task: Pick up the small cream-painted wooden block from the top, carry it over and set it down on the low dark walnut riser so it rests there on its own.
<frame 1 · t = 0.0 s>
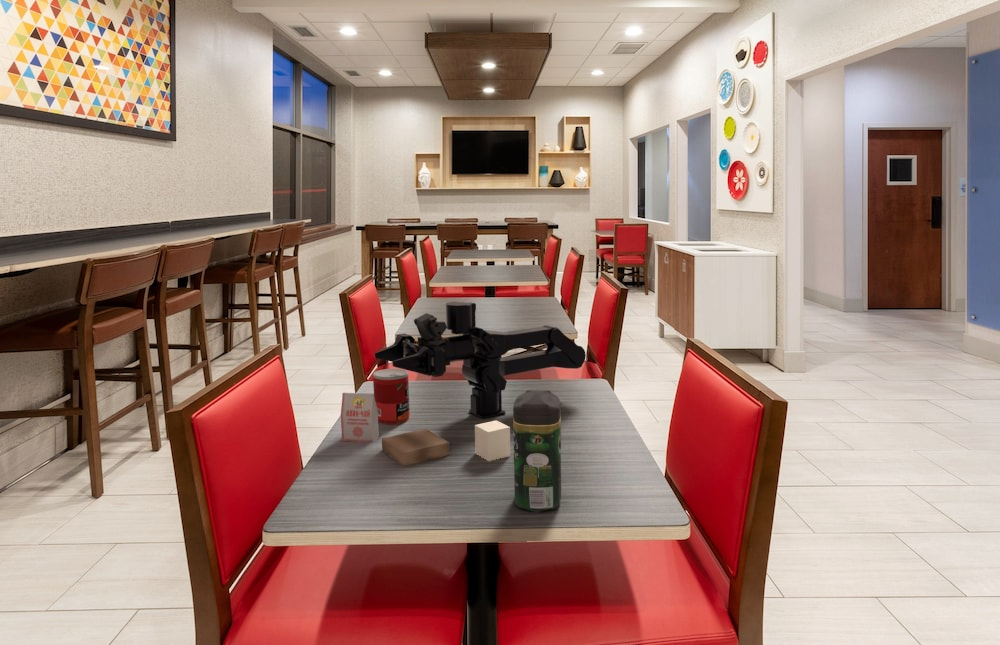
hand: (383, 359, 149), 17 cm above the table, tool horizontal, fingers open, 9 cm apart
coffee jar: (537, 501, 118), on the table
cream block: (492, 455, 139), on the table
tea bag: (360, 439, 150), on the table
canned food: (392, 419, 162), on the table
walnut riser: (415, 454, 141), on the table
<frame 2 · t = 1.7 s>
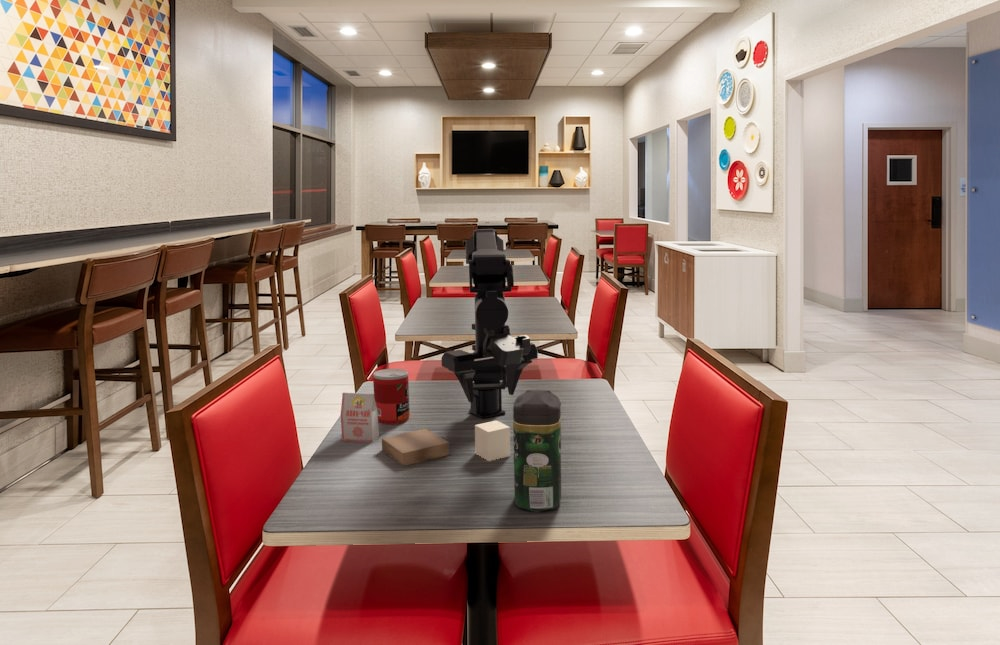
hand: (491, 398, 137), 12 cm above the table, tool pointing down, fingers open, 9 cm apart
nothing on the table moved.
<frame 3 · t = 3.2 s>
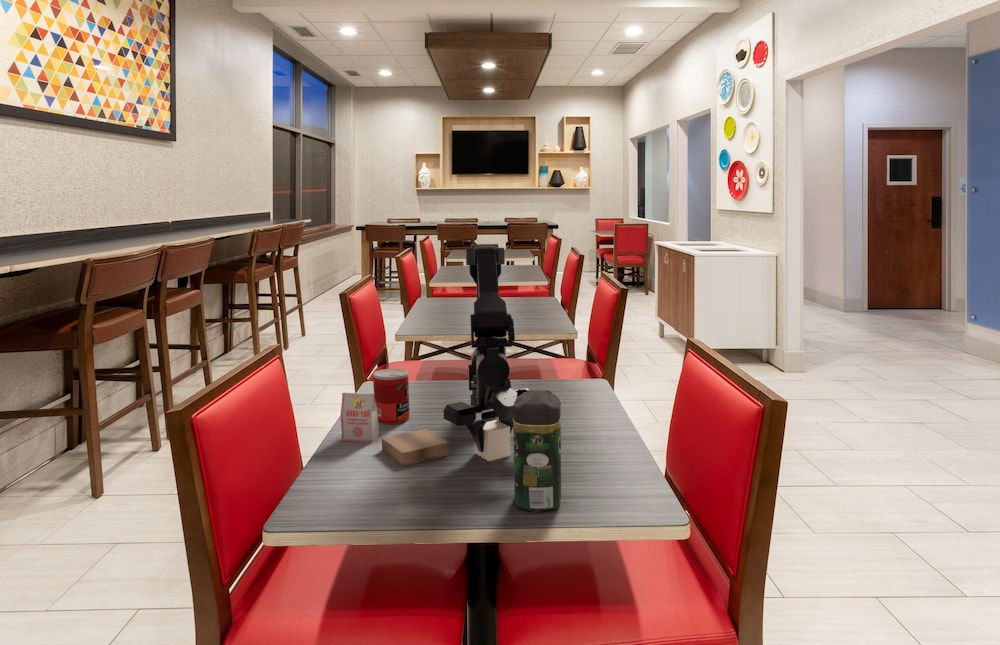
hand: (492, 448, 139), 1 cm above the table, tool pointing down, fingers closed on cream block, 5 cm apart
cream block: (492, 454, 139), on the table, touching gripper
everything else where it was.
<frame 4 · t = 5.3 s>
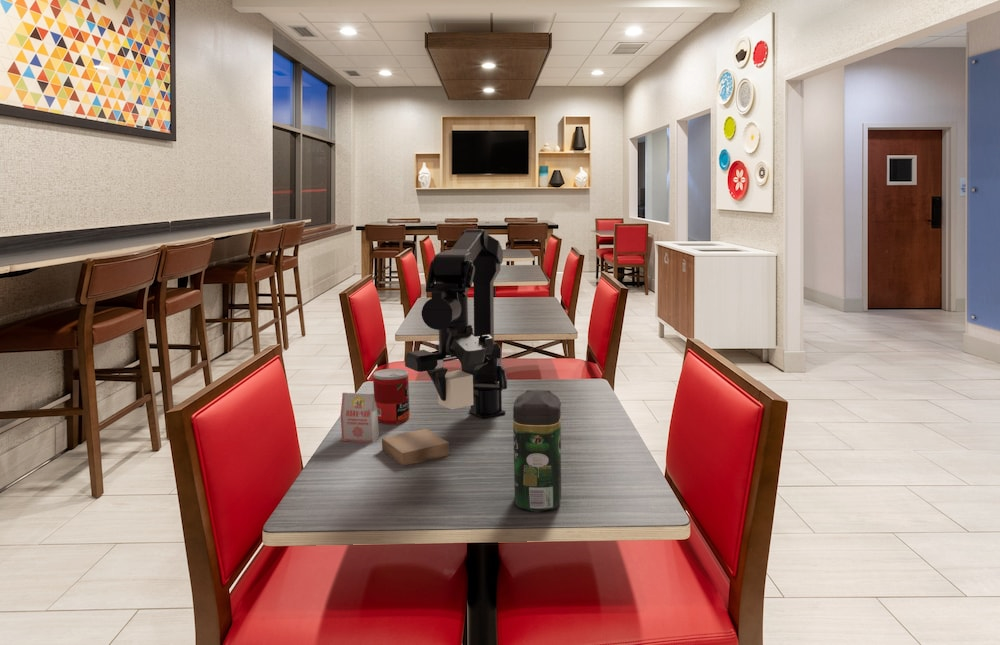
hand: (455, 398, 138), 11 cm above the table, tool pointing down, fingers closed on cream block, 5 cm apart
cream block: (455, 404, 138), point 10 cm above the table, touching gripper
everything else where it was.
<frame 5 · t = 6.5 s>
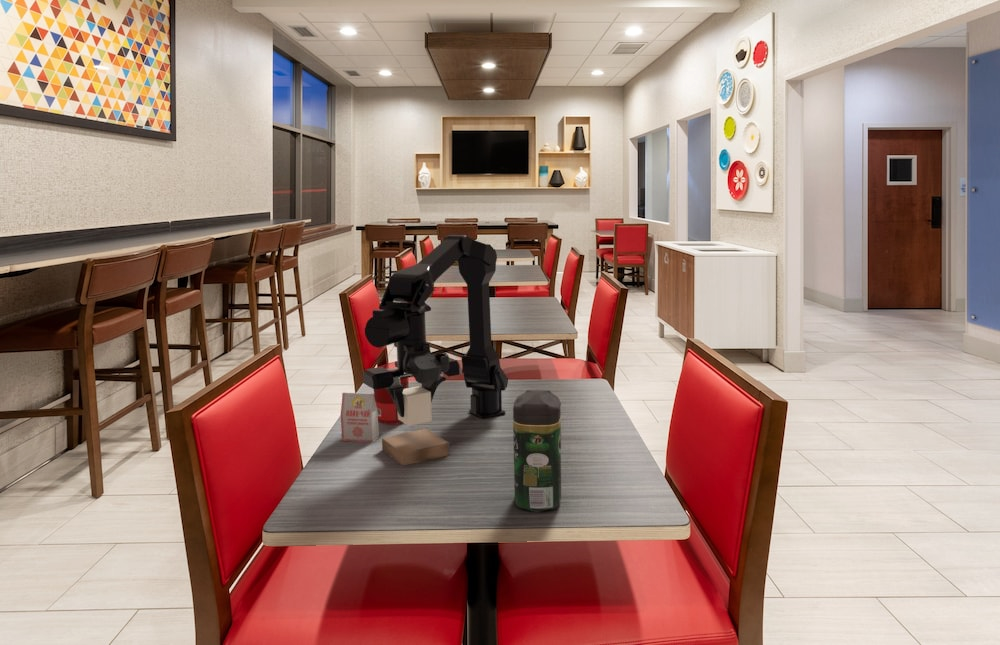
hand: (414, 414, 140), 8 cm above the table, tool pointing down, fingers closed on cream block, 5 cm apart
cream block: (414, 420, 140), point 7 cm above the table, touching gripper
everything else where it was.
when the fingers open (5 cm above the table, at t = 7.4 s): cream block drops 1 cm, resting on walnut riser.
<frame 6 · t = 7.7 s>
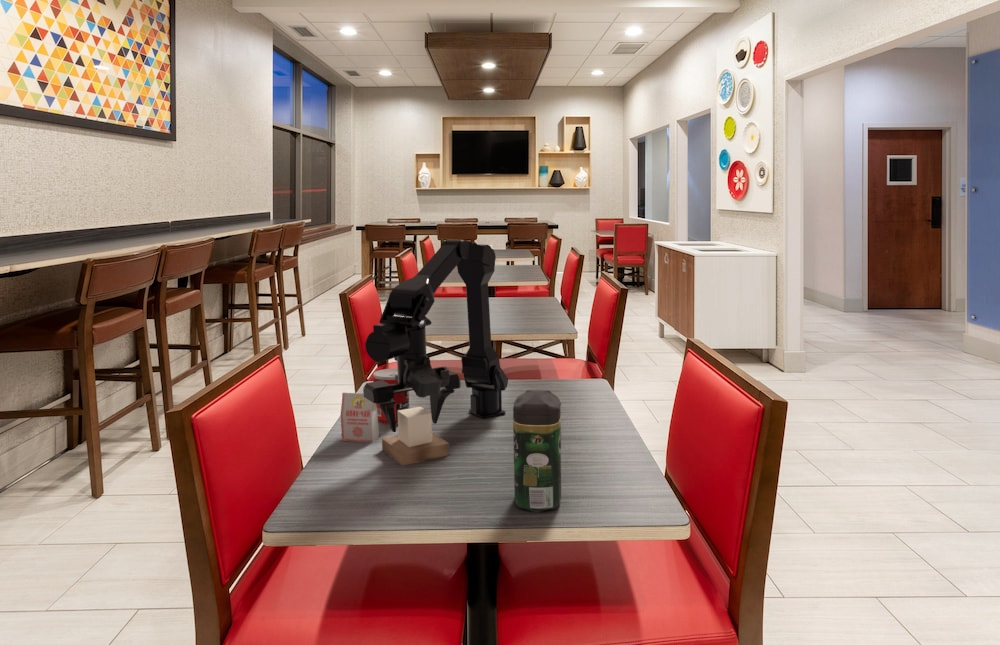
hand: (414, 427, 140), 5 cm above the table, tool pointing down, fingers open, 9 cm apart
cream block: (415, 440, 141), point 2 cm above the table, touching walnut riser
walnut riser: (415, 454, 141), on the table, touching cream block
everything else where it was.
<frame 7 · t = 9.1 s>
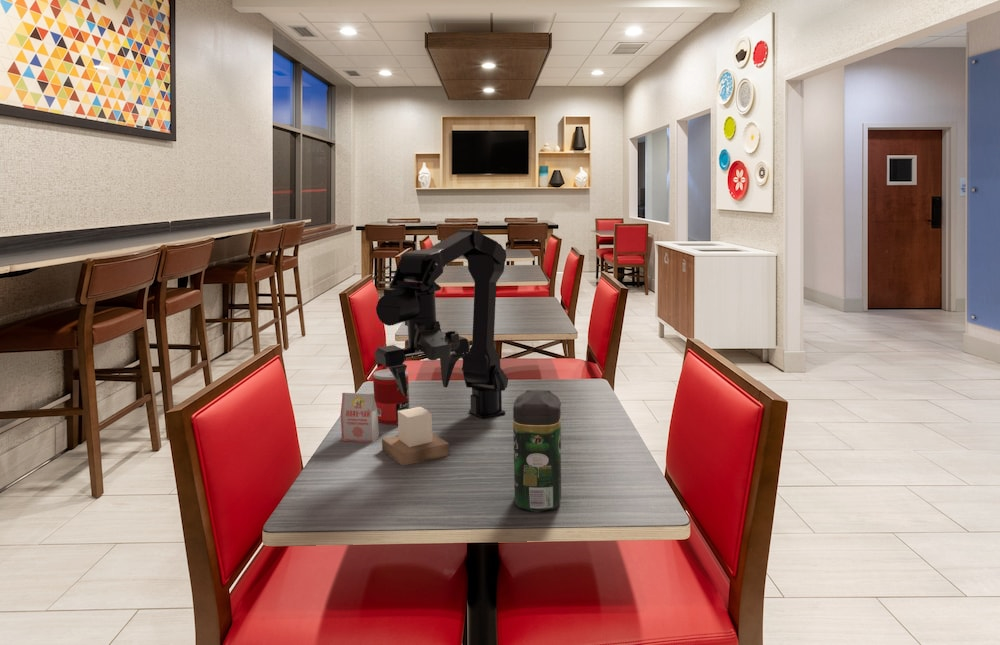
hand: (425, 391, 143), 11 cm above the table, tool pointing down, fingers open, 9 cm apart
cream block: (415, 440, 141), point 2 cm above the table
walnut riser: (415, 455, 141), on the table
everything else where it was.
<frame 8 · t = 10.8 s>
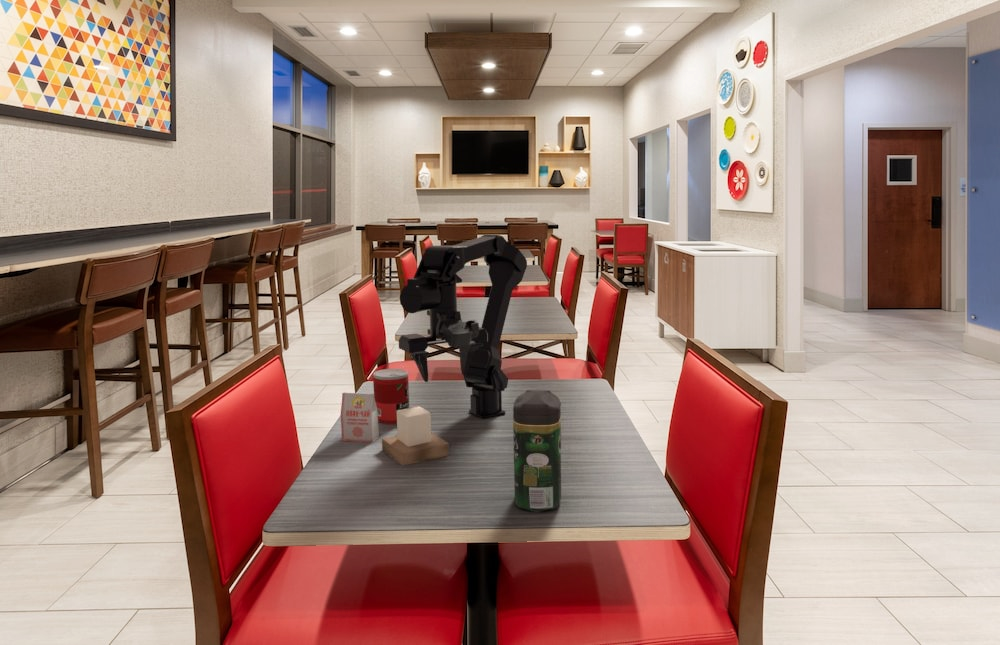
hand: (445, 378, 151), 12 cm above the table, tool pointing down, fingers open, 9 cm apart
cream block: (414, 440, 141), point 2 cm above the table, touching walnut riser
walnut riser: (415, 455, 141), on the table, touching cream block
everything else where it was.
at the end: cream block inside the target area on the walnut riser (0.1 cm from its centre), point 3.0 cm above the walnut riser's base; cream block tilted 1°; cream block touching walnut riser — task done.
